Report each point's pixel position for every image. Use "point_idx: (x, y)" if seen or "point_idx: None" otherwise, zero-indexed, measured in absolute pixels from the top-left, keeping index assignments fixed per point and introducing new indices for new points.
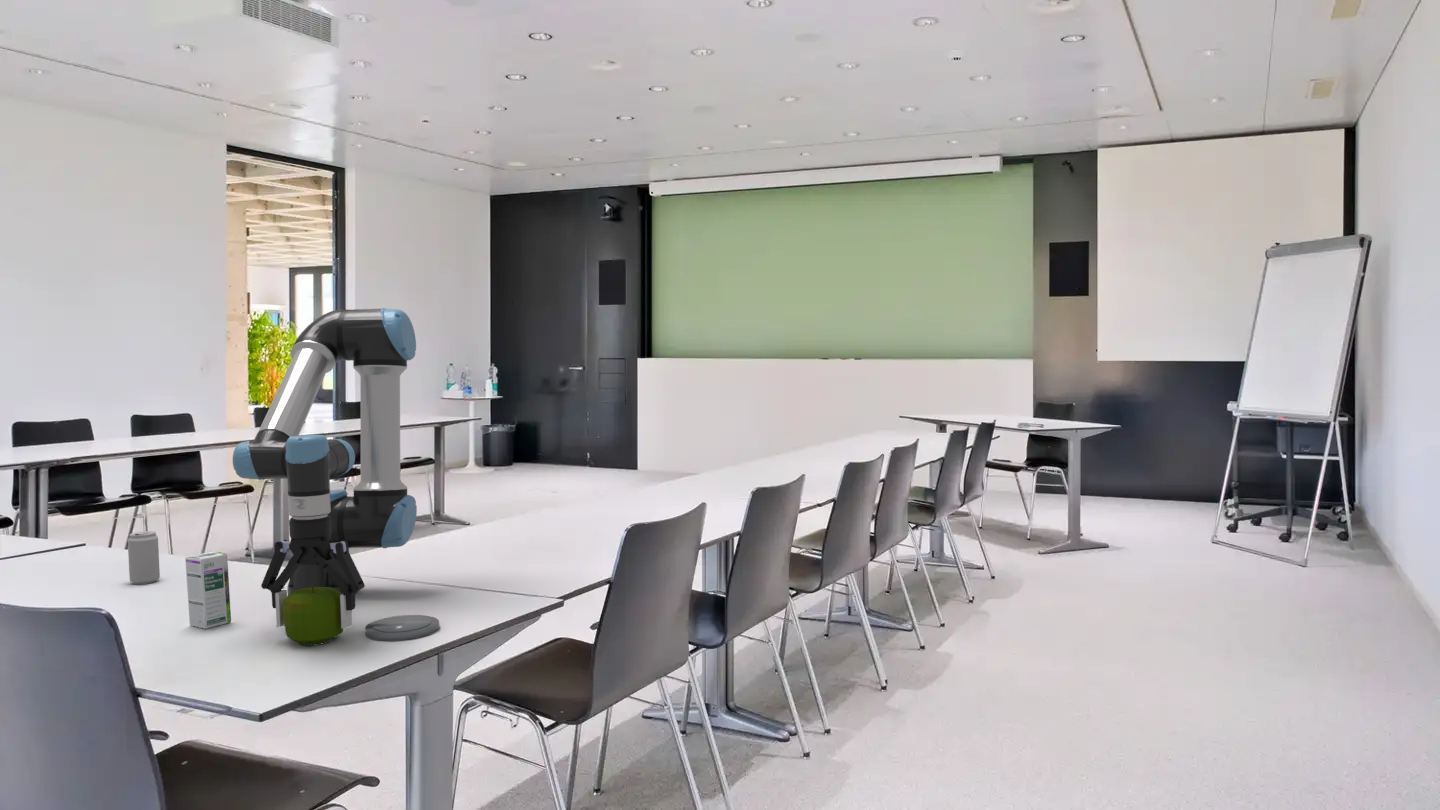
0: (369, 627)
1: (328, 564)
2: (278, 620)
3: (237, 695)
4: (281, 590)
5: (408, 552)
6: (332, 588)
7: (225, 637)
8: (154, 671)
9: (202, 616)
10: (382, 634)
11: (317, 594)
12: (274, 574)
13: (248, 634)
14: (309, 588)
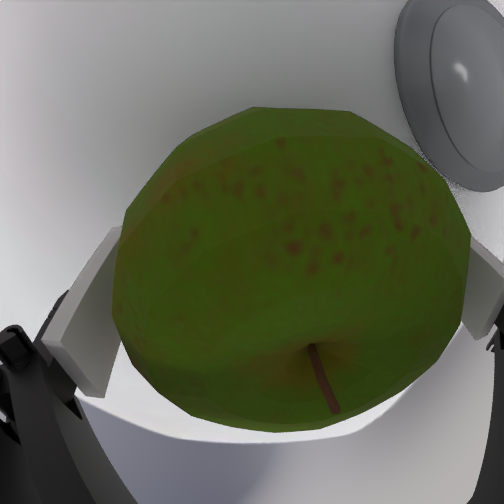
0: (429, 114)
1: (500, 500)
2: None
3: (307, 431)
4: (52, 356)
5: None
6: (444, 279)
7: (3, 251)
8: (109, 407)
9: None
10: (476, 190)
11: (383, 400)
12: (22, 465)
13: (18, 213)
14: (244, 341)
